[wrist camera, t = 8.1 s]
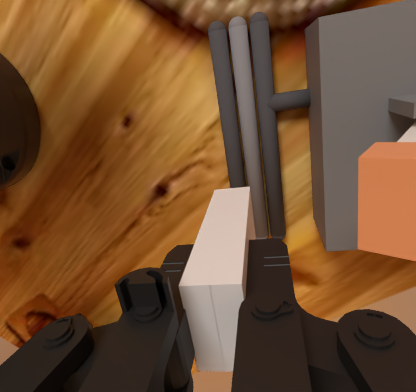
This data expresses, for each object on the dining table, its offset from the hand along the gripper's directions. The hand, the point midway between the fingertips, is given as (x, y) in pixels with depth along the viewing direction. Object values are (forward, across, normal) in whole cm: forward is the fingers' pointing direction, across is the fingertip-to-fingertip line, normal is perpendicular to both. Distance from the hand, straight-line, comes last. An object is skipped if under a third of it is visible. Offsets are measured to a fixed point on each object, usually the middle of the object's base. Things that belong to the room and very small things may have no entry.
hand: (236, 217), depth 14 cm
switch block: (+16, +11, 0) cm, 19 cm away
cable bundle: (+16, +2, 0) cm, 16 cm away
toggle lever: (+8, +11, 0) cm, 14 cm away
